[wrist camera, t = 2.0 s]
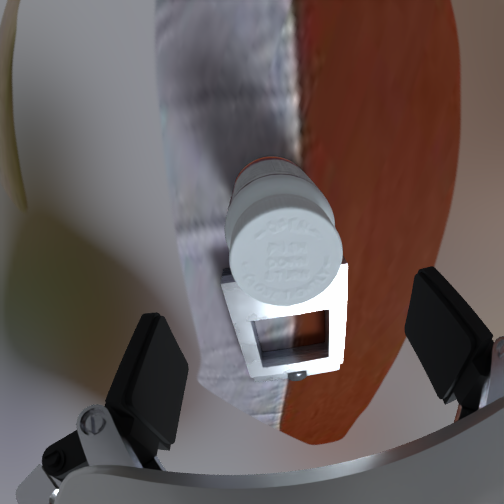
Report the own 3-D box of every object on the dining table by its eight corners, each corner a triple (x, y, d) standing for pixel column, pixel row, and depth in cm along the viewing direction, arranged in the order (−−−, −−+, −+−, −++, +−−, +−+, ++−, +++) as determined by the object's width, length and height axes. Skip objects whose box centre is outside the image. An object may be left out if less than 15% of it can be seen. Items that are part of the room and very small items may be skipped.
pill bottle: (292, 234, 24) (318, 326, 14) (224, 213, 23) (203, 298, 13) (319, 170, 21) (377, 224, 11) (247, 144, 20) (242, 174, 10)
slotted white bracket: (223, 269, 25) (219, 289, 22) (339, 250, 24) (350, 268, 21) (254, 375, 33) (255, 394, 30) (337, 362, 32) (342, 381, 29)
